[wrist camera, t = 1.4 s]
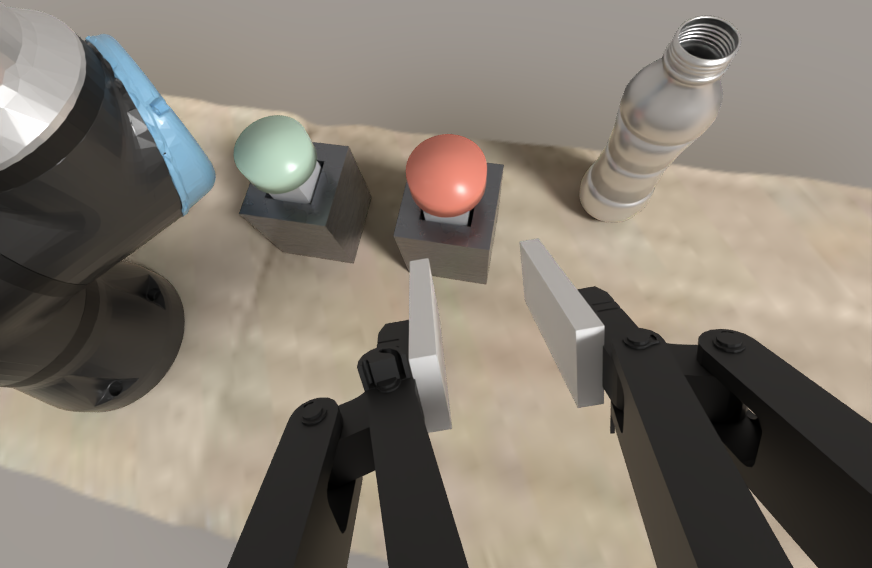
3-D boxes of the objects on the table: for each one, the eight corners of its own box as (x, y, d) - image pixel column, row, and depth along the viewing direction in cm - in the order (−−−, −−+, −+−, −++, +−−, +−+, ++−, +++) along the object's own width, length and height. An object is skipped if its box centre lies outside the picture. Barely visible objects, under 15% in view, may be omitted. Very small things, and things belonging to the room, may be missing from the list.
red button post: (409, 272, 44) (393, 236, 35) (424, 203, 46) (413, 153, 37) (486, 284, 43) (489, 250, 34) (498, 213, 45) (503, 164, 36)
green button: (278, 229, 42) (223, 175, 33) (295, 176, 44) (247, 111, 35) (335, 237, 41) (295, 185, 32) (350, 183, 43) (317, 119, 34)
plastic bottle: (569, 178, 45) (637, 6, 26) (633, 171, 45) (749, -10, 26) (580, 233, 43) (663, 89, 24) (648, 226, 43) (785, 73, 24)
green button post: (283, 252, 46) (239, 213, 37) (303, 187, 48) (266, 136, 39) (353, 263, 45) (325, 226, 36) (371, 196, 47) (348, 146, 38)
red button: (415, 249, 40) (397, 199, 31) (427, 194, 42) (414, 130, 33) (478, 259, 39) (479, 210, 30) (488, 202, 41) (492, 138, 32)
